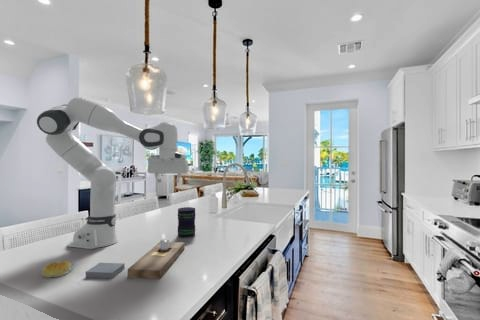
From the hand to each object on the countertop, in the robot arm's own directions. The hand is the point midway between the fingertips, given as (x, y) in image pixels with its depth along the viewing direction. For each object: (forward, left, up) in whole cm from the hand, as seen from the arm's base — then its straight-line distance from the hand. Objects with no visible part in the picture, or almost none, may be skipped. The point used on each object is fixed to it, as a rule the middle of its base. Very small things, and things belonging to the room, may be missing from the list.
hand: (168, 182), depth 123 cm
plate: (-12, -32, -31) cm, 46 cm away
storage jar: (+5, +16, -31) cm, 36 cm away
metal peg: (+4, -15, -31) cm, 35 cm away
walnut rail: (+4, -20, -31) cm, 37 cm away
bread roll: (-30, -33, -32) cm, 55 cm away
